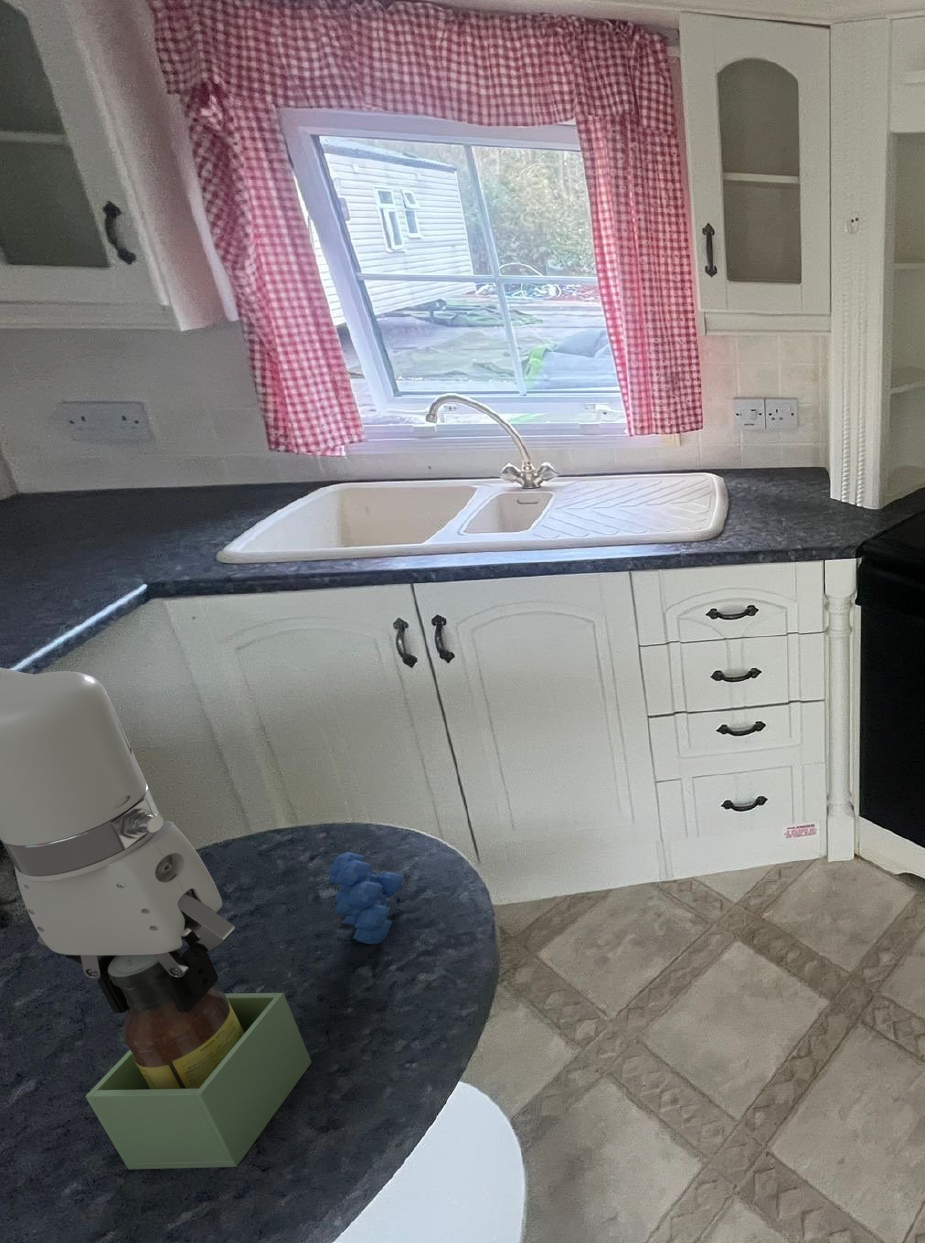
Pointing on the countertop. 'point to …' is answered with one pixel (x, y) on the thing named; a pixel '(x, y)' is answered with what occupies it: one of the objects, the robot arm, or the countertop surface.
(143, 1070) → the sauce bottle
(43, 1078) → the countertop surface
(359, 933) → the grapes
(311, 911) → the countertop surface
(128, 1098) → the bin
